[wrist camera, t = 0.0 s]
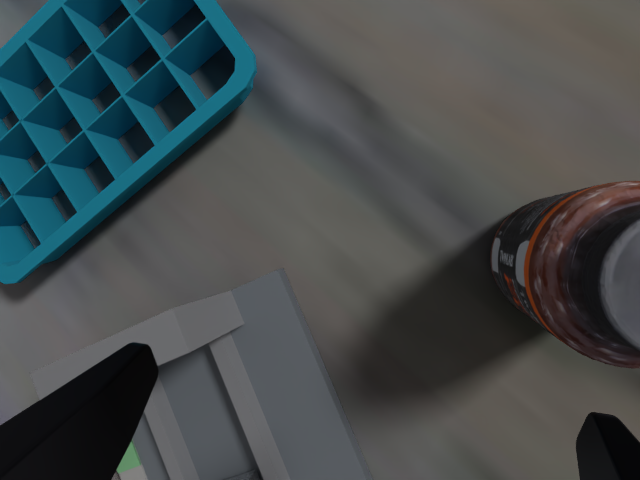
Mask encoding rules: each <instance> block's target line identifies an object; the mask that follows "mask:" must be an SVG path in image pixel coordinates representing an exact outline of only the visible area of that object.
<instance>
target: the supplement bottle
mask: <svg viewBox="0 0 640 480" xmlns="http://www.w3.org/2000/svg"><path fill="white" fill-rule="evenodd" d="M490 262H491V270H492V274H493V277H494V279H495V282H496V284H497V285H498V287H499V289H500V290H501V292H502V293H503V294H504V295H505V297H506V298H507V299H508V300H509V301H510V302H511V303H512V304H513V306H515V307H516V308H517V309H518V310H520V311H522V312H523V313H524V314H526V315H527V316H528V317H530V318H531V319H532V320H534V321H535V322H537V323H538V324H539V325H540V326H541V327H543V328H544V329H545V330H547V331H548V332H549V333H551V334H552V335H553V336H555V337H556V338H557V339H559V340H560V341H562V342H563V343H565V344H566V345H568V346H569V347H571V348H572V349H574V350H575V351H577V352H579V353H580V354H582V355H585V356H587V357H589V358H591V359H593V360H597V361H600V362H603V363H605V364H609V365H614V366H618V367H626V368H640V181H624V182H614V183H607V184H602V185H596V186H593V187H588V188H584V189H581V190H577V191H572V192H568V193H564V194H560V195H555V196H552V197H547V198H542V199H539V200H536V201H533V202H531V203H529V204H527V205H524V206H522V207H521V208H519V209H517V210H516V211H515V212H513V213H512V214H511V215H510V216H509V217H507V218H506V219H505V220H504V221H503V223H502V224H501V226H500V227H499V229H498V230H497V232H496V234H495V237H494V240H493V243H492V247H491V253H490Z"/></svg>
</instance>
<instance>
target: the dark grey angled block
mask: <svg viewBox="0 0 640 480" xmlns="http://www.w3.org/2000/svg"><path fill="white" fill-rule="evenodd" d="M225 480H260V478H259V475H258V473H257V470H256V469H254V470H251V471H249V472H246V473H243V474H240V475H237V476H234V477H231V478H228V479H225Z"/></svg>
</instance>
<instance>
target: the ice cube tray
mask: <svg viewBox="0 0 640 480" xmlns="http://www.w3.org/2000/svg"><path fill="white" fill-rule="evenodd" d="M122 4H124V6H125V7H126V9H127V10H128V12H129V13H130V14H131V15H130V16H129V17H128V18H127V19H126V20H125V21H124V22H123V23H122V24H120V25H119V26H118V27H117V28H116V29H115V30H114V31H113V32H112V33H111V34H110V35H109V36H108V37H107V38H105V37H104V35H103V34H102V32H101V31H100V29H99V28H98V27H99V26H100V25H101V24H102V23H103V22H104V21H105V20H106V19H107V18H108V17H109V16H110V15H111V14H113V13H114V12H115V11H116V10H117V9H118V8H119V7H120V6H121V5H122ZM196 4H197V6H198V7H199V8H200V10H201V11H202V13H203V14H204V15H205V17H206V19H205V20H203V21H202V22H201V23H200V24H199V25H198V26H197V27H196V28H195V29H194V30H192V31H191V32H190V33H189V34H188V35H187V36H186V37H185V38H184V39H183V40H181V41H180V42H179V43H178V44H177V45H176V46H175V47H174V48H173V49H171V48H170V46H169V45H168V44H167V42H166V41H165V39H164V38H163V36H162V35H163V34H164V33H165V32H166V31H168V30H169V29H170V28H171V27H172V26H173V25H174V24H175V23H176V22H177V21H178V20H179V19H181V18H182V17H183V16H184V15H185V14H186V13H187V12H188V11H189V10H190V9H191V8H192V7H194V6H195V5H196ZM83 41H85V42H86V43H87V45H88V46H89V48H90V49H91V51H92V52H91V53H90V54H89V55H88V56H87V57H86V58H85V59H84V60H83V61H82V62H81V63H79V64H78V65H77V66H76V67H75V68H74V69H73V70H72V69H71V68H70V66H69V65H68V63H67V62H66V60H65V59H66V58H67V57H68V56H69V55H70V54H71V53H72V52H73V51H74V50H75V49H76V48H77V47H78V46H79V45H80V44H81V43H82V42H83ZM151 45H152V46H153V48H154V49H155V50H156V52H157V53H158V55H159V56H160V58H161V60H159V61H158V62H157V63H156V64H155V65H154V66H153V67H152V68H151V69H150V70H148V71H147V72H146V73H145V74H144V75H143V76H142V77H141V78H140V79H139V80H137V81H136V82H135V81H134V79H133V78H132V76H131V75H130V73H129V72H128V71H127V69H126V68H127V67H129V66H130V65H131V64H132V63H133V62H134V61H135V60H136V59H137V58H138V57H139V56H140V55H142V54H143V53H144V52H145V51H146V50H147V49H148V48H149V47H150V46H151ZM224 45H226V46H227V47H228V49H229V50H230V52H231V53H232V54H233V56H234V57H235V71H234V73H233V74H232V76H231V77H230V79H229V80H228V82H227V83H226V84H225V85H224V86H223V87H222V88H221V89H220V90H219V91H217V92H216V93H215V94H214V95H213V96H212V97H210V98H209V99H208V100H207V99H206V98H205V96H204V95H203V94H202V92H201V91H200V89H199V88H198V86H197V85H196V84H195V82H194V81H193V79H192V78H191V76H190V75H191V74H192V73H194V72H195V71H196V70H197V69H198V68H199V67H200V66H202V65H203V64H204V63H205V62H206V61H207V60H208V59H209V58H211V57H212V56H213V55H214V54H215V53H216V52H217V51H218V50H220V49H221V48H222V47H223V46H224ZM256 73H257V68H256V57H255V54H254V53H253V51H252V50H251V49H250V47H249V46H248V44H247V43H246V42H245V40H244V39H243V38H242V36H241V35H240V33H239V32H238V31H237V29H236V28H235V27H234V25H233V24H232V22H231V21H230V20H229V18H228V17H227V16H226V14H225V13H224V11H223V10H222V9H221V7H220V6H219V5H218V3H217V2H216V0H146V1H145V2H144V3H143V4H142V5H140V4H139V2H138V1H137V0H49V1H48V2H47V3H46V4H45V5H44V6H43V7H42V8H41V9H40V10H39V11H38V12H37V13H36V14H35V15H34V16H33V17H32V18H31V19H30V20H29V21H28V22H27V23H26V24H25V25H24V26H23V27H22V28H21V29H20V30H19V31H18V32H17V33H16V34H15V35H14V36H13V37H12V38H11V39H10V40H9V41H8V42H7V43H6V44H5V45H4V46H3V47H2V48H1V49H0V185H1V184H2V183H3V182H4V184H5V186H6V187H7V189H8V190H9V192H10V194H11V196H10V197H9V198H8V199H7V200H5V199H4V198H3V196H2V195H1V193H0V282H2V283H3V284H11V283H20V282H21V281H23V280H24V279H25V278H26V277H27V276H28V275H30V274H31V273H32V272H33V271H34V270H35V269H37V268H38V267H39V266H40V265H41V264H44V263H48V262H52V261H55V260H57V259H58V258H59V257H61V256H62V255H63V254H64V253H65V252H66V251H68V250H69V249H70V248H71V247H72V246H74V245H75V244H76V243H77V242H78V241H79V240H81V239H82V238H83V237H84V236H85V235H87V234H88V233H89V232H90V231H91V230H93V229H94V228H95V227H96V226H97V225H98V224H100V223H101V222H102V221H103V220H104V219H106V218H107V217H108V216H109V215H110V214H111V213H113V212H114V211H115V210H116V209H117V208H119V207H120V206H121V205H122V204H123V203H124V202H126V201H127V200H128V199H129V198H130V197H132V196H133V195H134V194H135V193H136V192H138V191H139V190H140V189H141V188H142V187H143V186H145V185H146V184H147V183H148V182H149V181H151V180H152V179H153V178H154V177H155V176H156V175H158V174H159V173H160V172H161V171H162V170H164V169H165V168H166V167H167V166H168V165H169V164H171V163H172V162H173V161H174V160H175V159H177V158H178V157H179V156H180V155H181V154H183V153H184V152H185V151H186V150H187V149H188V148H190V147H191V146H192V145H193V144H194V143H196V142H197V141H198V140H199V139H200V138H201V137H203V136H204V135H205V134H206V133H207V132H209V131H210V130H211V129H212V128H213V127H214V126H216V125H217V124H218V123H219V122H220V121H222V120H223V119H224V118H225V117H226V116H228V115H229V114H230V113H231V112H232V111H233V110H235V109H236V108H237V107H238V106H239V105H241V104H242V103H243V102H244V100H245V99H246V98H247V96H248V95H249V93H250V92H251V90H252V89H253V79H254V77H255V75H256ZM47 76H48V77H49V79H50V80H51V82H52V83H53V85H54V86H55V87H54V88H53V89H52V90H51V91H50V92H49V93H48V94H47V95H46V96H45V97H44V98H43V99H42V100H41V101H40V100H39V99H38V97H37V96H36V94H35V93H34V91H33V90H34V89H35V88H36V87H37V86H38V85H39V84H40V83H41V82H42V81H43V80H44V79H45V78H46V77H47ZM111 82H113V84H114V85H115V87H116V88H117V90H118V91H119V93H120V94H121V96H120V97H119V98H118V99H117V100H115V101H114V102H113V103H112V104H111V105H110V106H109V107H108V108H107V109H106V110H104V111H103V112H102V113H100V112H99V110H98V109H97V107H96V106H95V104H94V103H93V101H92V100H93V99H94V98H95V97H96V96H97V95H98V94H99V93H100V92H101V91H103V90H104V89H105V88H106V87H107V86H108V85H109V84H110V83H111ZM179 85H180V86H181V88H182V89H183V91H184V92H185V94H186V95H187V97H188V98H189V99H190V101H191V102H192V104H193V105H194V107H195V108H196V110H195V111H194V112H193V113H192V114H191V115H190V116H188V117H187V118H186V119H185V120H184V121H183V122H181V123H180V124H179V125H178V126H177V127H176V128H175V129H173V130H172V131H171V132H169V131H168V129H167V128H166V126H165V125H164V124H163V122H162V121H161V119H160V118H159V116H158V115H157V113H156V112H155V110H154V109H153V108H154V107H155V106H156V105H157V104H159V103H160V102H161V101H162V100H163V99H164V98H165V97H166V96H168V95H169V94H170V93H171V92H172V91H173V90H174V89H176V88H177V87H178V86H179ZM12 110H13V111H14V113H15V114H16V116H17V118H18V119H19V121H18V122H17V123H16V124H15V125H14V126H13V127H12V128H11V129H10V130H8V128H7V127H6V125H5V123H4V122H3V120H2V119H3V118H5V117H6V116H7V115H8V114H9V113H10V112H11V111H12ZM73 117H75V119H76V120H77V122H78V123H79V125H80V126H81V128H82V129H83V130H82V131H81V132H80V133H79V134H78V135H77V136H76V137H75V138H74V139H73V140H71V141H70V142H69V143H68V144H67V142H66V141H65V139H64V138H63V136H62V135H61V133H60V131H59V130H60V129H61V128H62V127H63V126H65V125H66V124H67V123H68V122H69V121H70V120H71V119H72V118H73ZM138 121H139V122H140V124H141V125H142V127H143V128H144V130H145V131H146V133H147V134H148V136H149V137H150V139H151V140H152V142H153V143H154V145H155V146H154V147H152V148H151V149H150V150H149V151H148V152H147V153H146V154H144V155H143V156H142V157H141V158H140V159H139V160H137V161H136V162H135V163H133V162H132V160H131V159H130V157H129V156H128V154H127V153H126V151H125V150H124V148H123V147H122V145H121V144H120V142H119V141H118V139H119V138H120V137H121V136H122V135H124V134H125V133H126V132H127V131H128V130H129V129H130V128H131V127H133V126H134V125H135V124H136V123H137V122H138ZM37 150H38V151H39V152H40V154H41V156H42V157H43V159H44V160H45V162H46V164H45V165H44V166H43V167H42V168H41V169H40V170H38V171H37V172H36V173H35V171H34V170H33V168H32V167H31V165H30V163H29V162H28V159H29V158H30V157H31V156H32V155H33V154H34V153H35V152H36V151H37ZM99 156H100V157H101V159H102V160H103V162H104V163H105V165H106V166H107V168H108V169H109V171H110V172H111V174H112V175H113V177H114V179H115V180H114V181H113V182H112V183H111V184H110V185H108V186H107V187H106V188H105V189H104V190H103V191H101V192H100V193H99V192H98V191H97V189H96V187H95V186H94V184H93V183H92V181H91V180H90V178H89V177H88V175H87V173H86V172H85V170H84V169H85V168H86V167H87V166H89V165H90V164H91V163H92V162H93V161H94V160H95V159H96V158H98V157H99ZM61 189H63V190H64V192H65V194H66V195H67V197H68V198H69V200H70V202H71V203H72V205H73V206H74V208H75V209H76V211H77V213H76V214H75V215H74V216H72V217H71V218H70V219H69V220H68V221H67V222H66V221H65V219H64V218H63V216H62V214H61V213H60V211H59V210H58V208H57V206H56V205H55V203H54V202H53V200H52V197H54V196H55V195H56V194H57V193H58V192H59V191H60V190H61ZM26 220H27V221H28V223H29V225H30V226H31V228H32V230H33V231H34V233H35V234H36V236H37V238H38V239H39V241H40V243H41V244H40V245H39V246H38V247H37V248H35V249H34V247H33V245H32V244H31V242H30V240H29V239H28V237H27V235H26V234H25V232H24V231H23V229H22V227H21V225H22V224H23V223H24V222H25V221H26Z"/></svg>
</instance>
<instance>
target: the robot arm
mask: <svg viewBox="0 0 640 480" xmlns="http://www.w3.org/2000/svg"><path fill="white" fill-rule="evenodd" d="M158 373H159V369H158V365H157V362H156V360H155V357H154V355H153V352H152V349H151V347H150V346H149V345H148V344H143V343H137V342H132V343H129V344H127V345H125V346H124V347H122V348H121V349H119V350H117V351H116V352H114V353H113V354H111V355H110V356H108V357H107V358H105V359H103V360H102V361H100V362H99V363H97V364H96V365H94V366H92V367H91V368H89V369H88V370H86V371H85V372H83V373H82V374H80V375H78V376H77V377H75V378H74V379H72V380H71V381H69V382H67V383H66V384H64V385H63V386H61V387H60V388H58V389H57V390H55V391H53V392H52V393H50V394H49V395H47V396H46V397H44V398H42V399H41V400H39V401H38V402H36V403H35V404H33V405H32V406H30V407H28V408H27V409H25V410H24V411H22V412H21V413H19V414H17V415H16V416H14V417H13V418H11V419H10V420H8V421H6V422H5V423H3V424H2V425H0V480H111V479H112V477H113V475H114V473H115V472H116V470H117V468H118V466H119V464H120V462H121V460H122V458H123V456H124V455H125V453H126V451H127V449H128V447H129V445H130V443H131V441H132V438H133V436H134V434H135V432H136V429H137V427H138V424H139V422H140V420H141V417H142V415H143V412H144V410H145V408H146V405H147V403H148V400H149V398H150V395H151V393H152V391H153V388H154V386H155V383H156V381H157V378H158ZM576 452H577V460H578V468H579V476H580V480H640V442H639V441H638V440H637V439H636V438H635V437H634V435H633V434H632V433H631V432H630V431H629V430H628V429H627V427H626V426H625V425H624V424H623V423H622V422H621V421H620V420H619V419H618V418H617V417H615V416H613V415H609V414H603V413H596V412H591V413H590V414H588V416H587V417H586V419H585V422H584V424H583V426H582V428H581V430H580V432H579V434H578V437H577V440H576Z"/></svg>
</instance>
